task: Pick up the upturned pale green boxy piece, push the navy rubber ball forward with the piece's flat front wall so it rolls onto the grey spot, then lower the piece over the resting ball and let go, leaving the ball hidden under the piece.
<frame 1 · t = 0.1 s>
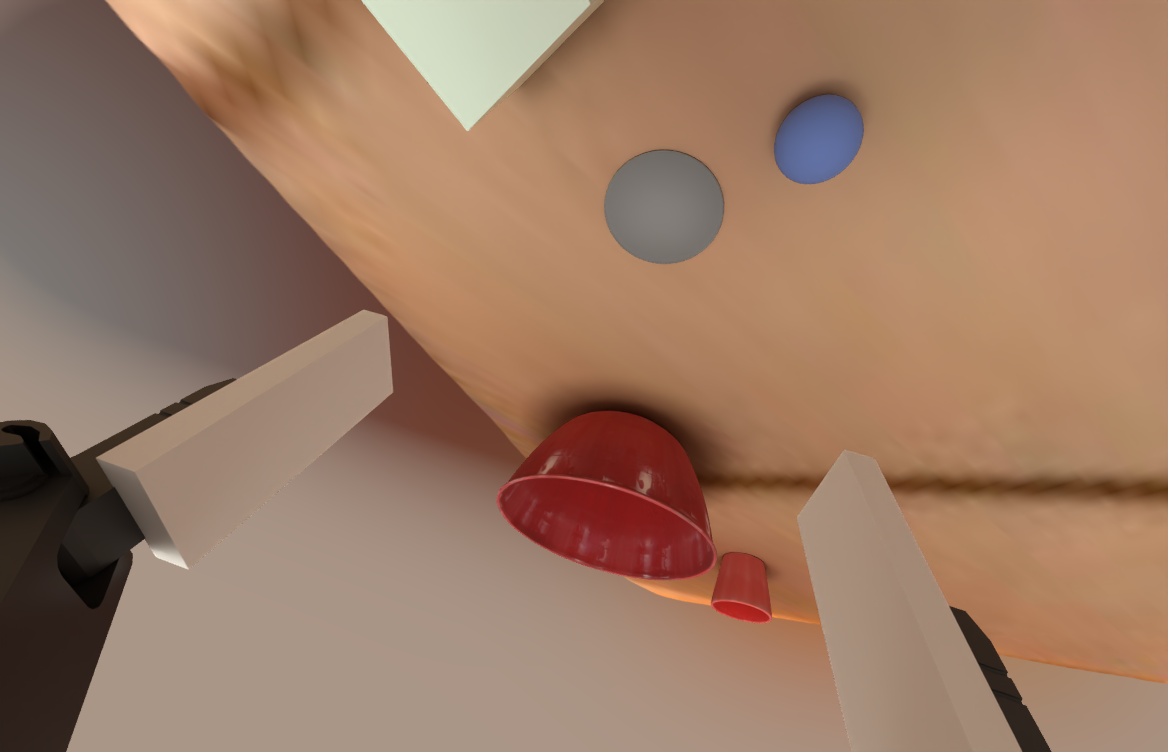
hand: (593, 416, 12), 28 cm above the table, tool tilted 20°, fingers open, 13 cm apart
mixing bowl: (627, 436, 64), on the table
grey spot: (662, 211, 36), on the table
flower pot: (742, 559, 86), on the table
ball: (816, 141, 27), on the table
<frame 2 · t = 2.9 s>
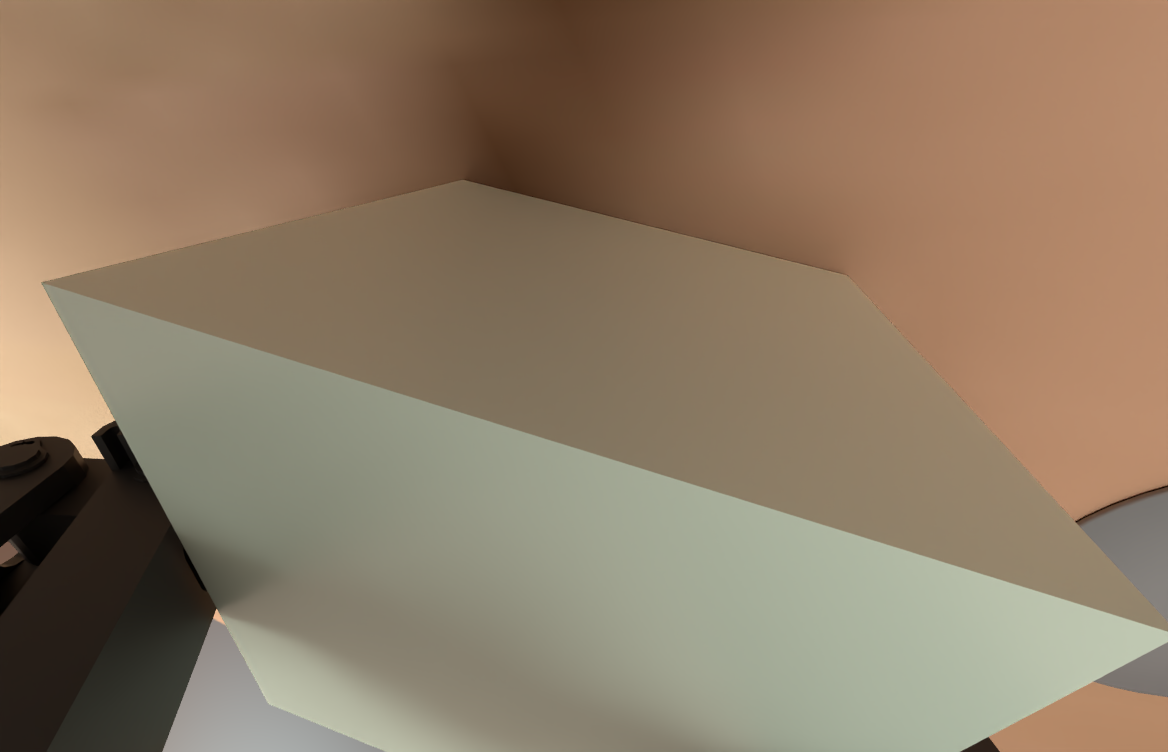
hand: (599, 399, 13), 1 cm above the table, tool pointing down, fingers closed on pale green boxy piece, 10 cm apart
pale green boxy piece: (605, 385, 14), on the table, touching gripper
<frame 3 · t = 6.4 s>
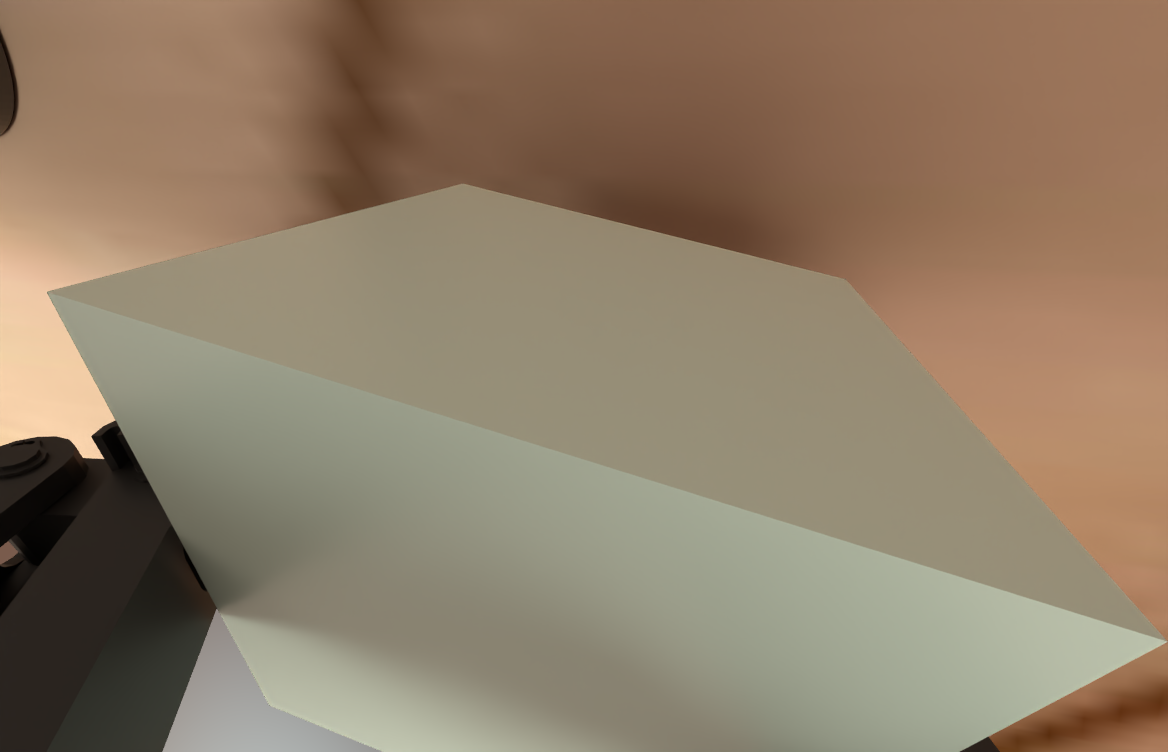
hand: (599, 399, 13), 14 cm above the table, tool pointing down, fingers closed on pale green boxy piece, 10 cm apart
pale green boxy piece: (604, 387, 14), point 13 cm above the table, touching gripper
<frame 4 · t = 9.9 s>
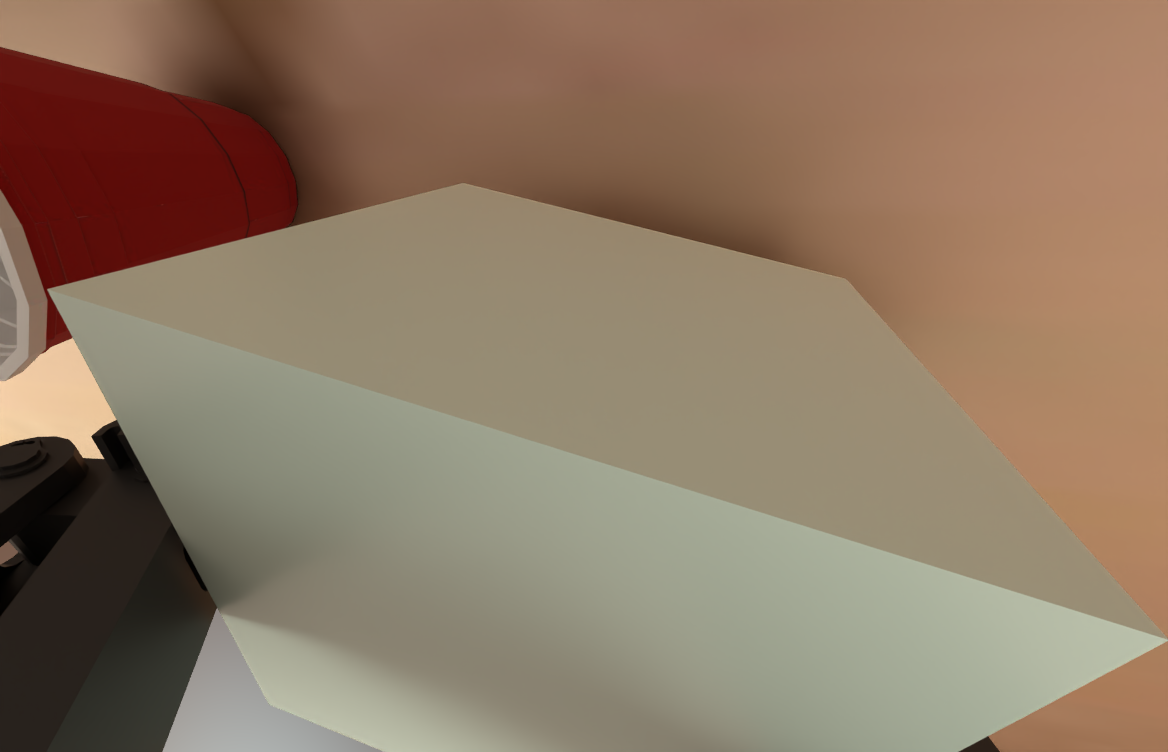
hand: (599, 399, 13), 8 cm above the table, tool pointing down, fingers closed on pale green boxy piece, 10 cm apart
pale green boxy piece: (604, 387, 14), point 7 cm above the table, touching gripper
plastic cup: (250, 169, 21), on the table
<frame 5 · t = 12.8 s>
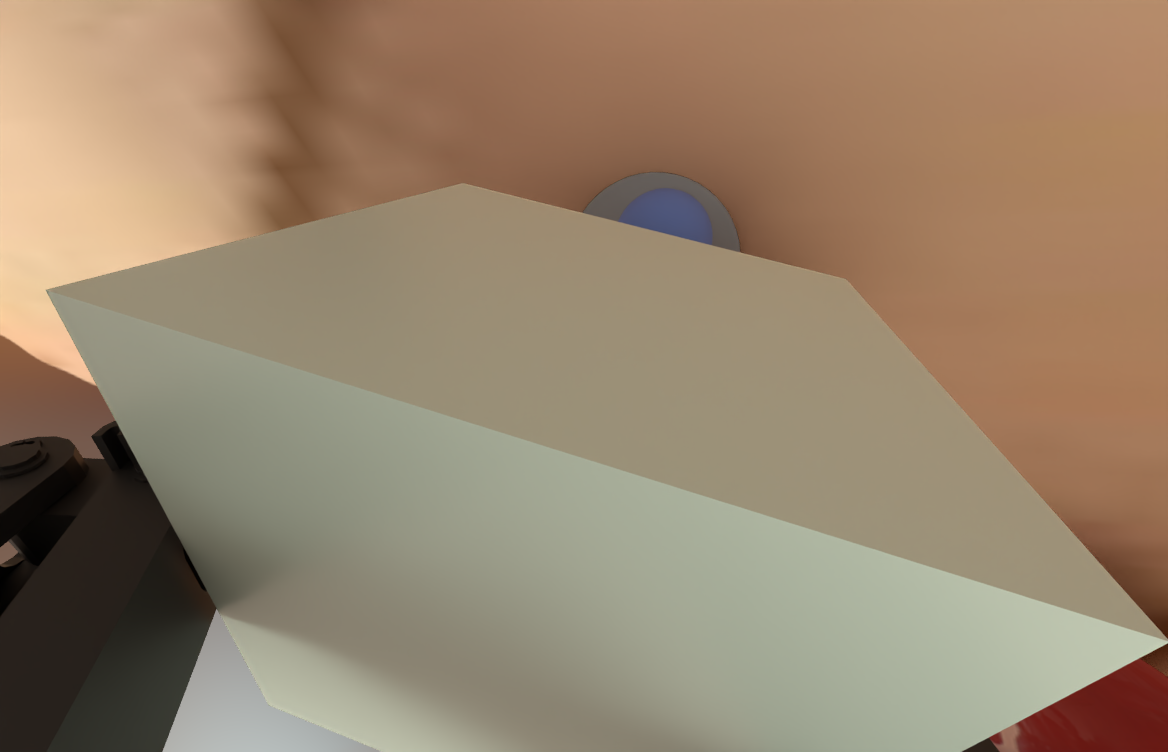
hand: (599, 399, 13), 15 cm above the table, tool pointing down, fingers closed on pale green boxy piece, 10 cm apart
pale green boxy piece: (604, 387, 14), point 14 cm above the table, touching gripper
mixing bowl: (907, 618, 35), on the table
grey spot: (650, 264, 25), on the table
ball: (662, 240, 22), on the table
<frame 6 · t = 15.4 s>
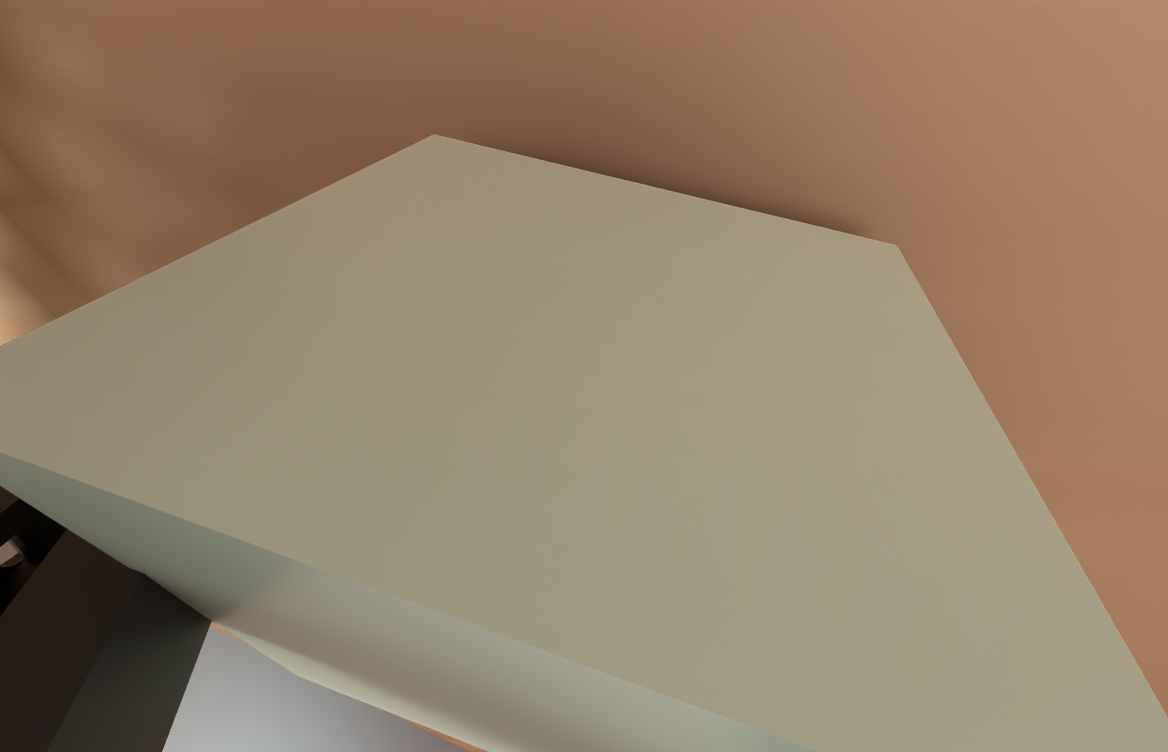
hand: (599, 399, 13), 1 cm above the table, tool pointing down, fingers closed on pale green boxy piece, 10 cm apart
pale green boxy piece: (610, 359, 13), point 1 cm above the table, tilted 12°, touching ball, gripper
when the fingers open (1 cm above the table, at t = 15.9 s): pale green boxy piece drops 1 cm, on the table.
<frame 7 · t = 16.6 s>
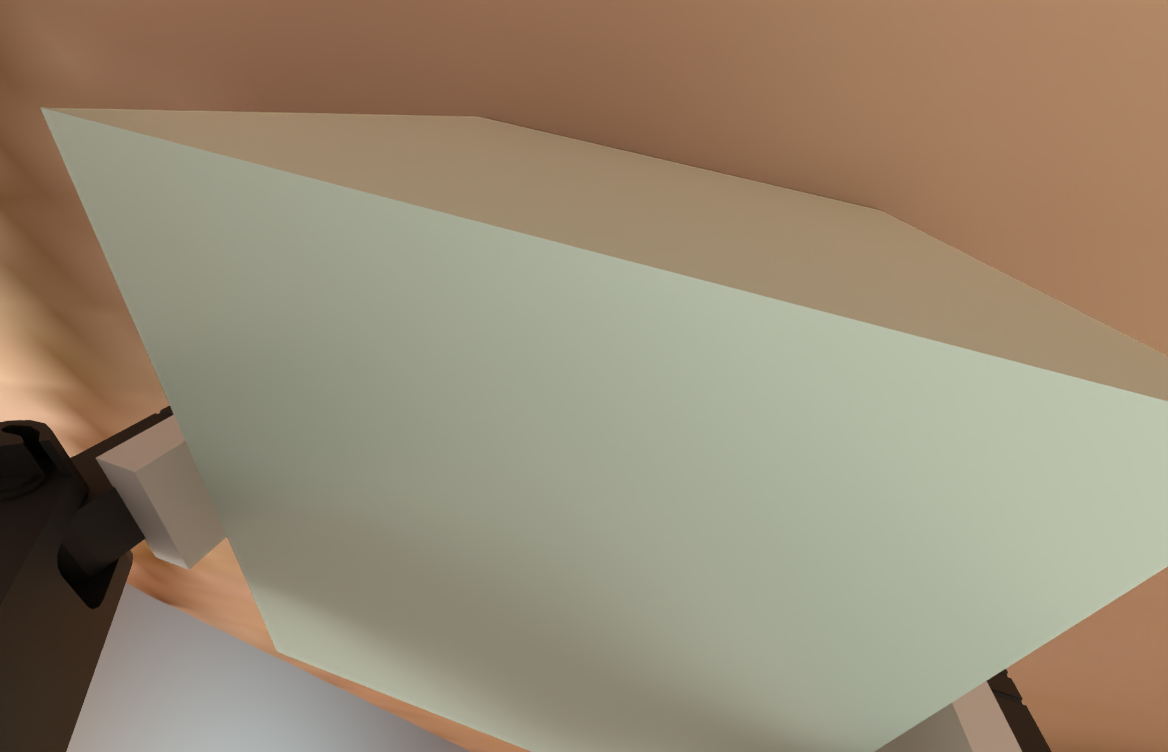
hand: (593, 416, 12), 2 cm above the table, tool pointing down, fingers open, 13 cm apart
pale green boxy piece: (622, 339, 13), on the table
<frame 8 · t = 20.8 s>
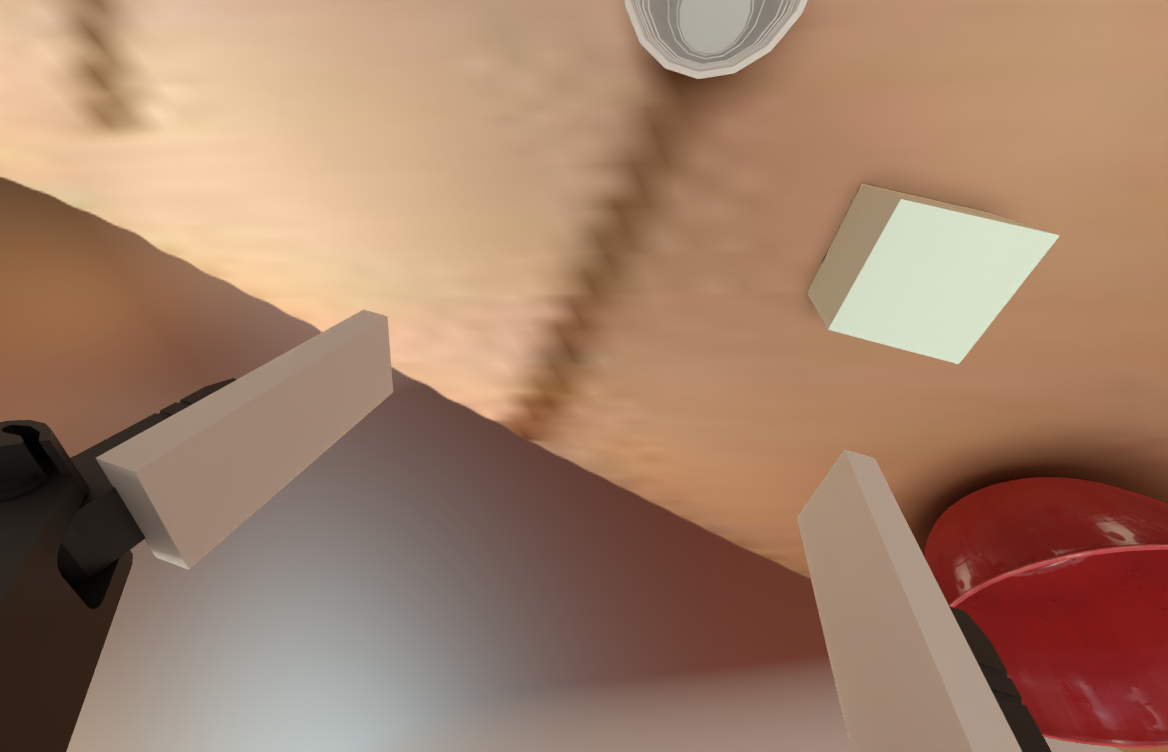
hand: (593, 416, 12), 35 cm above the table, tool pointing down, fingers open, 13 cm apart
pale green boxy piece: (889, 256, 39), on the table
mixing bowl: (1016, 521, 50), on the table
plastic cup: (714, 8, 34), on the table
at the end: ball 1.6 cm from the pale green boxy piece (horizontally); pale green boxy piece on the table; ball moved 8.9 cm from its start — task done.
